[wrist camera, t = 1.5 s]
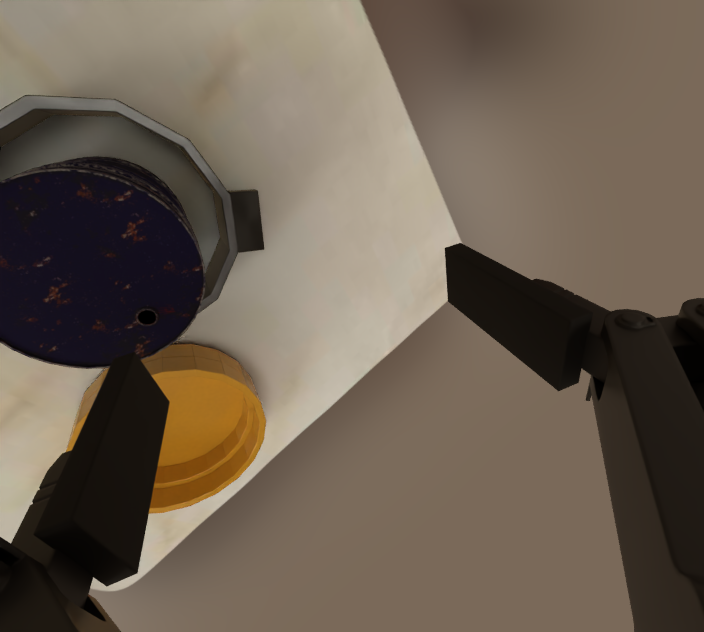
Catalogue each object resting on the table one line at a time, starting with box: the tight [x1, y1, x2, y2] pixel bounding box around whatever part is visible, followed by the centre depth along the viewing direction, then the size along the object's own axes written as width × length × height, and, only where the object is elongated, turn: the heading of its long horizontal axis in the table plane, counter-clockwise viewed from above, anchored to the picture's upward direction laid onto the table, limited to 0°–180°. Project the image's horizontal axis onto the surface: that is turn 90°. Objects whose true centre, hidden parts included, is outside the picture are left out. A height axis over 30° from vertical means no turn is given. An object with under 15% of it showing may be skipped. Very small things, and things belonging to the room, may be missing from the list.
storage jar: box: [0, 157, 206, 369], centre depth 22 cm, size 10×10×15 cm
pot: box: [0, 95, 264, 314], centre depth 26 cm, size 21×16×5 cm
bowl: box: [66, 344, 266, 513], centre depth 35 cm, size 16×16×6 cm
